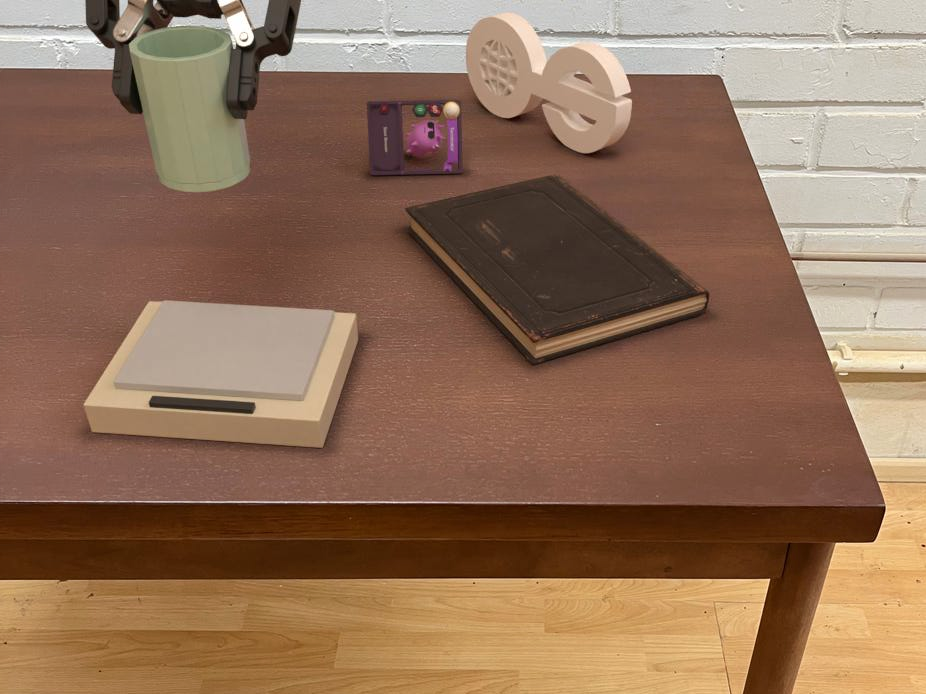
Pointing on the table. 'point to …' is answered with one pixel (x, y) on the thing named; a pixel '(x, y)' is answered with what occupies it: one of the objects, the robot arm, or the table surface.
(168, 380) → the scale
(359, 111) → the table surface
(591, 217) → the hardcover book
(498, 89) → the beige logo cutout
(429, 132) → the game card
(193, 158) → the cup
